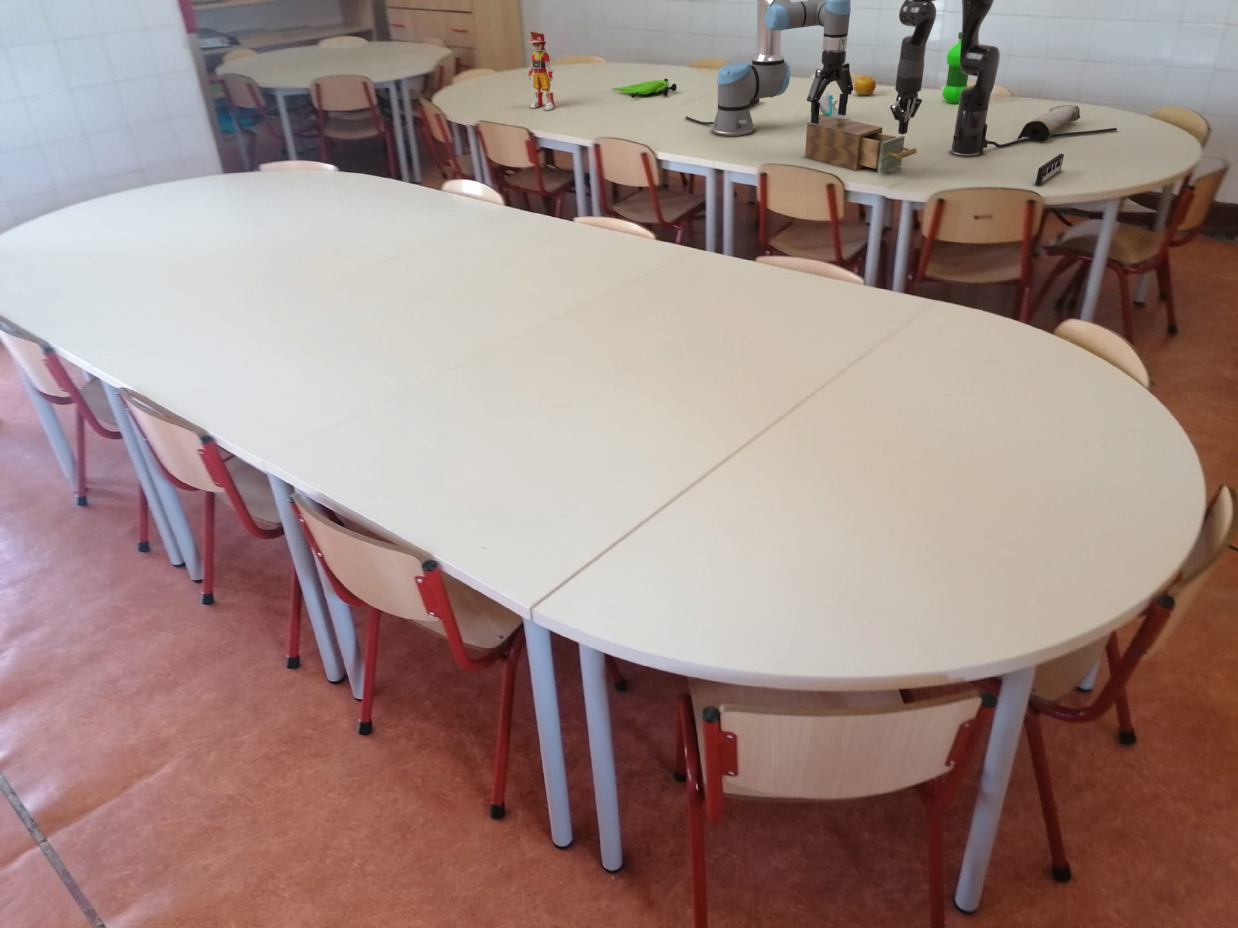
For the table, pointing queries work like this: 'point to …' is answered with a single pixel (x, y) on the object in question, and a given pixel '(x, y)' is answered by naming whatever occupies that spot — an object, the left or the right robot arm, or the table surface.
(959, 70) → the plastic bottle
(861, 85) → the fruit
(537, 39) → the toy
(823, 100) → the anatomical model
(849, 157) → the cabinet
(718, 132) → the left robot arm
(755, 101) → the disk drive
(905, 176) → the table surface
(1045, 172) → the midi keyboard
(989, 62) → the right robot arm
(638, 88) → the toy
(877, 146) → the drawer
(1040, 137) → the rolled mat
